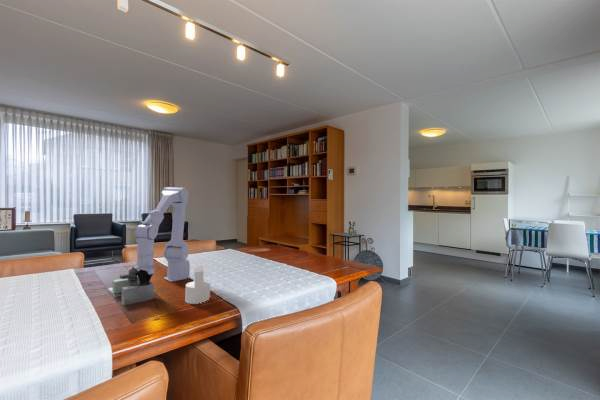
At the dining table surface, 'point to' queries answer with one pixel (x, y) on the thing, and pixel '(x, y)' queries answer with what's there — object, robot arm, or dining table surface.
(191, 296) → the cylinder with rectangular tab
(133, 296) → the plate
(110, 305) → the dining table surface
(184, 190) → the robot arm
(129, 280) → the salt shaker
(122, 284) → the vise jaw
